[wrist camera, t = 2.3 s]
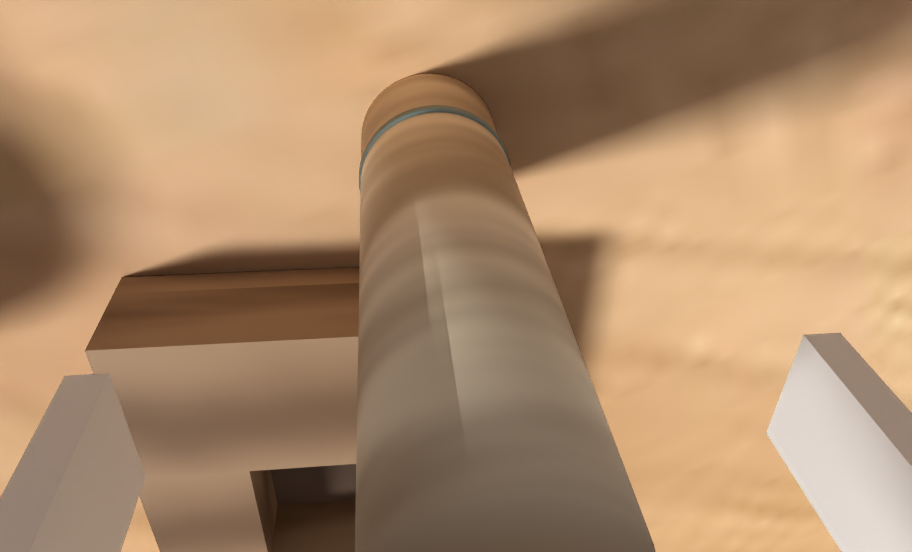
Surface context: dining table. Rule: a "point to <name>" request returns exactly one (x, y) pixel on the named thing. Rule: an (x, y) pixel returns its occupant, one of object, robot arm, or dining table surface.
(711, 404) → the dining table surface
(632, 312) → the dining table surface
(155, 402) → the board
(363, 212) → the peg
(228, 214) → the dining table surface
